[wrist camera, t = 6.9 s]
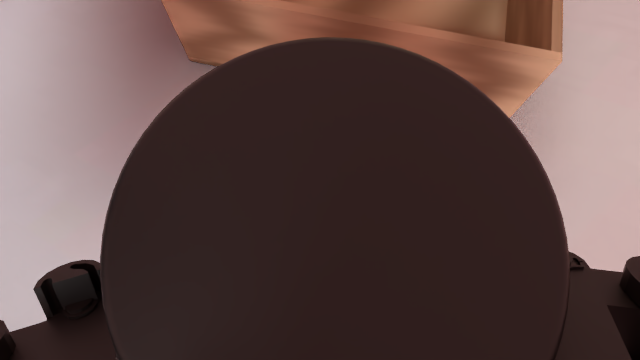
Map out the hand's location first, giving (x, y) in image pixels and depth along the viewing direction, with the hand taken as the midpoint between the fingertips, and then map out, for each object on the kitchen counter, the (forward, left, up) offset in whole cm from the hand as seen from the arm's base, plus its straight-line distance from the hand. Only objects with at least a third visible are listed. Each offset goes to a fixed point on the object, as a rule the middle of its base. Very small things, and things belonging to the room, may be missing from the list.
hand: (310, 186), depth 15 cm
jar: (+1, -3, -4) cm, 6 cm away
